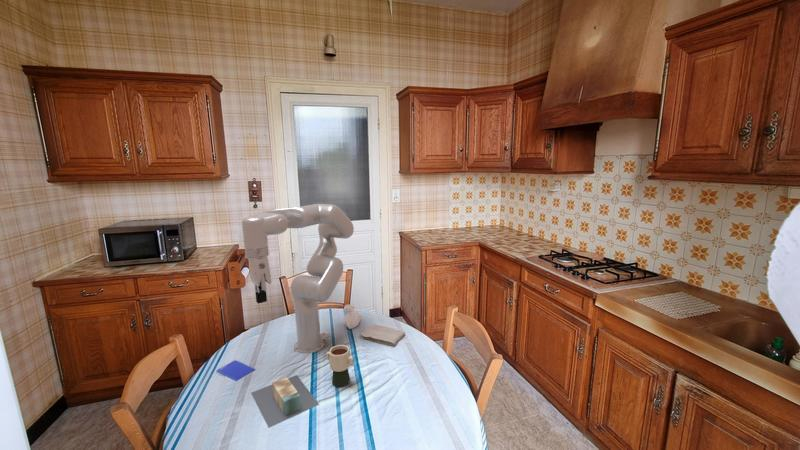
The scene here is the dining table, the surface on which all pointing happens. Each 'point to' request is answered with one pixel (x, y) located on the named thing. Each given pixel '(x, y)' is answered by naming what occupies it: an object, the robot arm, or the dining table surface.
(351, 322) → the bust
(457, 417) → the dining table surface
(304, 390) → the rubber mat
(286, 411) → the maple block
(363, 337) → the washcloth
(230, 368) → the hard drive
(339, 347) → the character mug
